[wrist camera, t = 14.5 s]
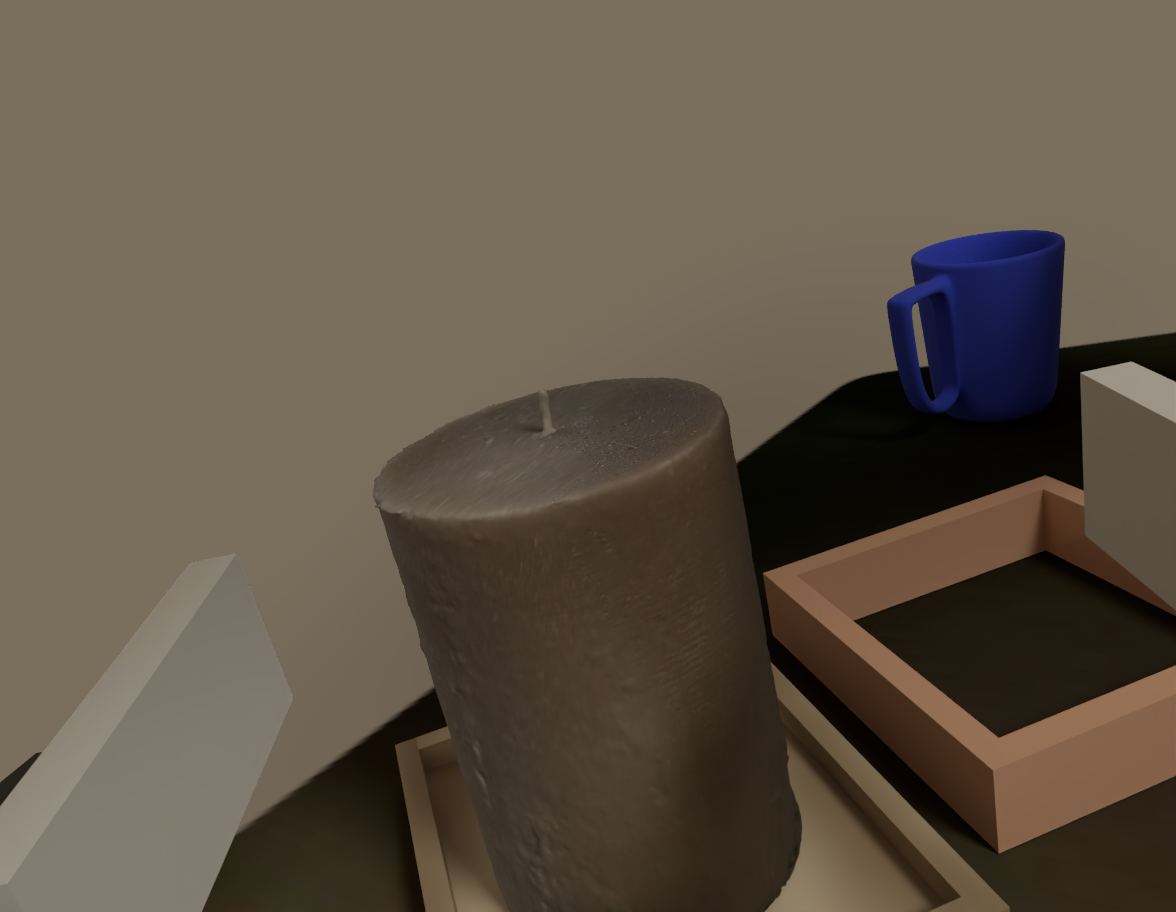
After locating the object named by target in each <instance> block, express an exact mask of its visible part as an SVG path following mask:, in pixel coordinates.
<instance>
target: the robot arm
mask: <svg viewBox="0 0 1176 912" xmlns="http://www.w3.org/2000/svg"><path fill="white" fill-rule="evenodd" d="M1080 380H1081V413H1082V445H1083V478H1084V510H1085V535H1086V536H1087V537H1088V538H1089V539H1090V540H1092V541H1093V542H1094V543H1095V544H1096V545H1098V546H1099V547H1100V548H1101V549H1102V550H1104V551H1105V552H1106V553H1107V554H1108V555H1110V556H1111V557H1112V558H1113V559H1114V560H1116V561H1117V562H1118V563H1119V564H1120V565H1122V566H1123V567H1124V568H1125V569H1126V570H1128V571H1129V572H1130V573H1131V574H1133V575H1134V576H1135V577H1136V578H1137V579H1139V580H1140V581H1141V582H1142V583H1143V584H1145V585H1146V586H1147V587H1148V588H1149V589H1151V590H1152V591H1153V592H1154V593H1155V594H1157V595H1158V596H1159V597H1160V598H1161V599H1163V600H1164V601H1165V602H1166V603H1167V604H1169V605H1170V606H1171V607H1172V608H1174V609H1175V610H1176V382H1175V381H1173V380H1170V379H1168V378H1166V377H1164V376H1162V375H1160V374H1157V373H1155V372H1153V371H1151V370H1149V369H1147V368H1144V367H1142V366H1140V365H1138V364H1136V363H1134V362H1128V363H1123V364H1118V365H1114V366H1109V367H1104V368H1099V369H1095V370H1090V371H1085V372H1081V373H1080ZM293 699H294V697H293V695H292V692H291V690H290V687H289V685H288V682H287V679H286V677H285V674H284V672H283V669H282V667H281V664H280V662H279V659H278V656H277V654H276V651H275V649H274V647H273V644H272V641H271V639H270V636H269V634H268V631H267V628H266V626H265V623H264V621H263V619H262V616H261V613H260V611H259V608H258V606H257V603H256V600H255V598H254V595H253V593H252V590H251V588H250V585H249V583H248V580H247V577H246V575H245V572H244V570H243V567H242V565H241V562H240V560H239V557H238V555H237V553H235V554H230V555H226V556H221V557H216V558H211V559H207V560H202V561H197V562H193V563H190V564H189V565H188V566H187V567H186V569H185V570H184V571H183V573H182V574H181V575H180V576H179V578H178V579H177V580H176V582H175V583H174V584H173V586H172V587H171V588H170V589H169V591H168V592H167V593H166V594H165V596H164V597H163V598H162V599H161V601H160V602H159V603H158V605H157V606H156V607H155V608H154V610H153V611H152V612H151V614H150V615H149V616H148V617H147V619H146V620H145V621H144V623H143V624H142V625H141V626H140V628H139V629H138V630H137V631H136V633H135V634H134V635H133V637H132V638H131V639H130V640H129V642H128V643H127V645H126V646H125V647H124V648H123V650H122V651H121V652H120V653H119V655H118V656H117V657H116V658H115V660H114V661H113V663H112V664H111V665H110V666H109V667H108V669H107V670H106V671H105V673H104V674H103V675H102V676H101V678H100V679H99V680H98V681H97V683H96V684H95V686H94V687H93V688H92V689H91V690H90V692H89V693H88V694H87V696H86V697H85V698H84V699H83V701H82V702H81V704H80V705H79V706H78V707H77V708H76V710H75V711H74V712H73V714H72V715H71V716H70V717H69V719H68V720H67V721H66V723H65V724H64V725H63V726H62V728H61V729H60V730H59V731H58V733H57V734H56V735H55V737H54V738H53V739H52V741H51V742H50V743H49V744H48V746H47V747H46V748H45V750H44V751H43V752H41V753H36V754H35V755H33V756H32V757H31V758H30V759H29V760H27V761H26V762H25V763H24V764H22V765H21V766H20V767H19V768H17V769H16V770H15V771H14V772H13V773H11V774H10V775H9V776H8V777H6V778H5V779H4V780H3V781H2V782H0V912H202V910H203V908H204V905H205V903H206V901H207V898H208V896H209V894H210V891H211V889H212V887H213V884H214V882H215V880H216V877H217V875H218V873H219V871H220V868H221V866H222V864H223V861H224V859H225V857H226V854H227V852H228V850H229V847H230V845H231V843H232V840H233V838H234V836H235V834H236V831H237V829H238V827H239V824H240V822H241V820H242V817H243V815H244V813H245V810H246V808H247V806H248V803H249V801H250V799H251V796H252V794H253V792H254V790H255V787H256V785H257V782H258V780H259V778H260V776H261V773H262V771H263V769H264V766H265V764H266V762H267V759H268V757H269V755H270V752H271V750H272V748H273V746H274V743H275V741H276V739H277V736H278V734H279V732H280V729H281V727H282V725H283V722H284V720H285V718H286V715H287V713H288V711H289V709H290V706H291V704H292V702H293Z"/></svg>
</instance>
